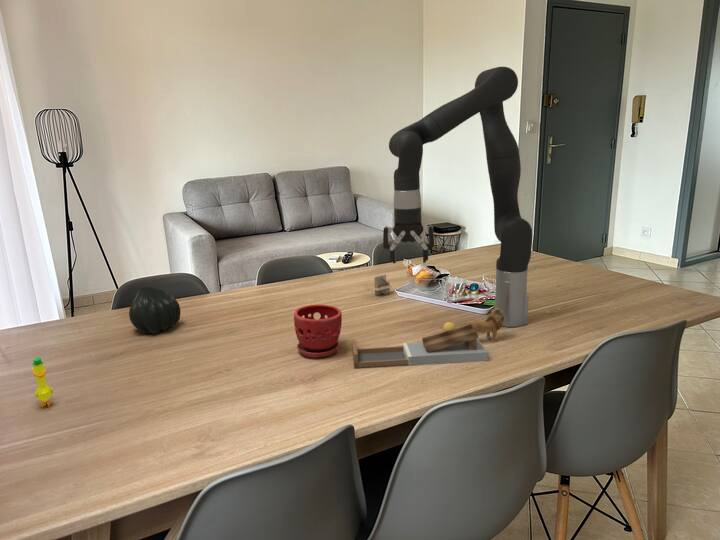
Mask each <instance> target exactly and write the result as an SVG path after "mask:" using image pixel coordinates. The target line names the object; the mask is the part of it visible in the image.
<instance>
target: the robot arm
mask: <svg viewBox="0 0 720 540" xmlns="http://www.w3.org/2000/svg"><path fill="white" fill-rule="evenodd" d="M518 86H519V78H518V75H517V73H516V71H515V70H513V69H512V68H511V67H507V66H497V67H493V68H489V69H486V70H483V71H482V72H480V73H479V74H478V75H477V77H476V79H475V82H474V88H473V89H472V90H470V91H468V92H466V93H465V94H462V95H461V96H458V97H457V98H454V99H453V100H451V101H448V102H447V103H444V104H443V105H441V106H439V107H438V108H436V109H435V110H432V111H431V112H430V113H428V114H426V115H425V116H423V117H422V118H421V119H419V120H418V121H415V122H413V123H411V124H409V125H407V126H405V127H403V128H401V129H400V130H398V131H396V132H395V133H393V135H392V136H391V137H390V139H389V142H388V150H389V151H390V153H391V154H392V155H393V156H395V157H396V158H398V162H397V163H398V164H397V168H396V169H395V170H394V171H393V214H394V215H393V218H394V219H393V221H394V225H393V226H392V227H391V226H390V227H389V226H388V225H386V226H384V228H383V231H382V232H383V235H382V236H383V237H382V238H383V239H382V241H383V243H382V247H383V249H387V250H389V253H390V255H389V256H390V262H392V264H396V262H397V257H396V255H397V254H396V249H395V248H396V247H397V246H398V245H399V244H400V242H402V243H408V242H409V243H415V242H417V243H418V245H420V246H421V247H422V263H423V264H426V262H427V261H428V260H429V249H432V248H434V247H435V236H434V226H433V225H432V224H430V225H427V226H426V225H425V226H423V223H422V220H423V219H422V195H421V189H420V187H421V186H420V185H421V183H420V179H421V178H420V170H421V167H422V160H423V154H424V145H426V144H428V143H433V142H435V141H437V140H439V139H440V138H442V137H444V136H445V135H447V134H448V133H449V132H451V131H452V130H454V129H456V128H457V127H459V126H460V125H462V124H463V123H464V122H466V121H467V120H470V118H472V117H474V116H476V115H478V114H479V116H480V120H481V125H482V132H483V133H482V134H483V141H484V146H485V147H484V148H485V155H486V164H487V172H488V178H489V185H490V189H491V194H492V195H491V196H492V201H493V216H494V217H493V226H494V227H493V228H494V234H495V237H496V239H497V240H498V242H500V249H499V251H500V252H499V253H500V254H499V257H498V258H497V259H496V262H495V263H496V264H495V266H496V267H495V289H494V291H495V292H494V293H495V295H494V309H495V308H499V309H502V310H503V312H504V315H505V317H504V322H503V325H502V327H506V328H507V327H509V328H517V327H521V326H524V325H528V320H529V318H528V317H529V300H530V299H529V298H530V295H529V293H527V288H528V286H527V285H528V269H529V268H528V267H529V263H530V261H531V255H532V246H533V228H532V226H531V224H530V222H528V221H527V220H526V219H524V218H522V216H521V211H520V206H519V200H518V199H519V198H518V194H519V186H520V182H521V175H522V174H521V173H522V172H521V171H522V168H521V167H522V166H521V158H520V149H519V145H518V142H517V141H516V138H515V135H514V134H513V132H512V131H511V129H510V127H509V124H508V123H507V122H508V121H506V116H505V111H504V102H505V101H507V100H510V98H512V97H513V96H514V95H515V94H516V92H517V90H518ZM423 231H424V232H425V234H426V235H428V237H429V238H428V243H427V241H425V240H424V238H423V237H422V234H423ZM392 232H393V233H394V235H396V238H395V239H394V240H393V242H392V243H391V244H390V243H389V236H390V235H391V233H392Z"/></svg>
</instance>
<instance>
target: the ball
mask: <svg viewBox="0 0 720 540" xmlns="http://www.w3.org/2000/svg"><path fill="white" fill-rule="evenodd" d="M455 328H457V327H456V324H455V323H454V322H452V321H446V322H445V323H444V324H443V325H442V330H443V331H442V332H444V331H448V330H451V329H455Z"/></svg>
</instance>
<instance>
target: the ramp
mask: <svg viewBox="0 0 720 540" xmlns="http://www.w3.org/2000/svg"><path fill="white" fill-rule="evenodd" d="M477 339H480V338H479V332H478V333H477V331H474V330H473V327H472V324H468V325H467V324H466V325H463V326H458V327H456V328H455V329H451V330H448V331H441V332H437V333H433V334H431V335H428V336H424V337H422V338H421V341H422V342H423V346H424V348H425V350H426V352H427V353H429V352H432V351H436V350H439V349H443V348H446V347H450V346H453V345H456V344H460V343H463V342H464V343H465V345H466V346H467V348H468V349H469V350H476V349H477Z"/></svg>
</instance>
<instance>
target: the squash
mask: <svg viewBox="0 0 720 540" xmlns="http://www.w3.org/2000/svg"><path fill="white" fill-rule="evenodd" d="M128 316H129V320H130V323H131V324H132V326H134V327H135V329H137V330H138V331H140V332H141V333H143V334H150V333H151V334H158V333H160V332H161V330H167V329H168V328H171V327H173V326H175V325H176V324H178V323H179V320H180V318H181V307H180V304H179V302H178V300H176V298H175V296H174V295H172V294H171V293H170V292H168V291H167V290H163V289H161V288H156V287H152V286H141V287H140V288H139V290H138V291H137V293H136V295H135V298H134V299H133V301H132V303H131V305H130V308H129V312H128Z"/></svg>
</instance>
